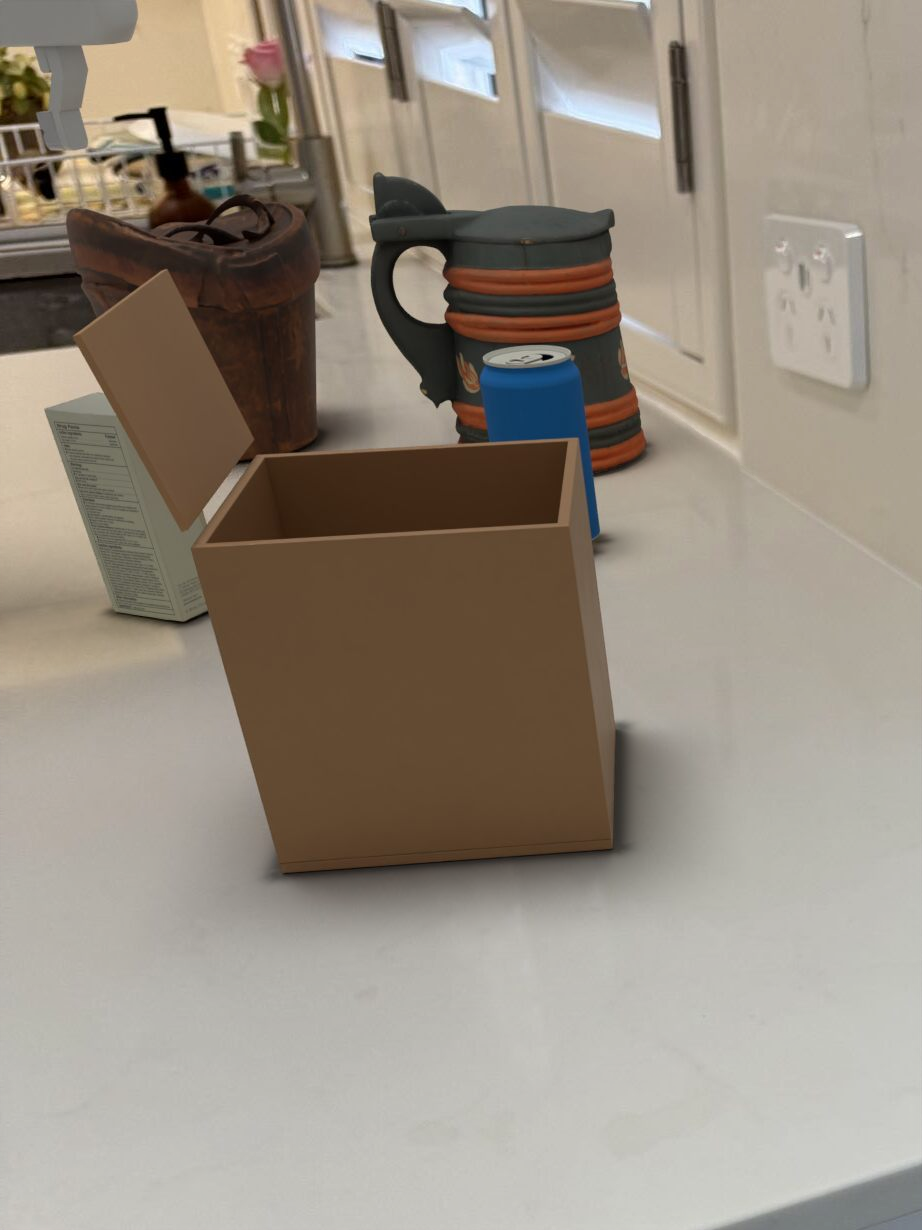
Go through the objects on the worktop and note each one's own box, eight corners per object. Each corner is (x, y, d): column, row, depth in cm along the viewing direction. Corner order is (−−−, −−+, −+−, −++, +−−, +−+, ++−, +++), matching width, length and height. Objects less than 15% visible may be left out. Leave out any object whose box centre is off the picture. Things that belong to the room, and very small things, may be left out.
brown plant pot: (388, 413, 139) (341, 176, 128) (303, 477, 123) (241, 213, 112) (195, 413, 141) (133, 179, 130) (87, 476, 125) (5, 216, 114)
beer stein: (418, 498, 118) (359, 188, 106) (398, 450, 129) (342, 164, 117) (664, 469, 123) (635, 169, 111) (624, 425, 134) (594, 148, 122)
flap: (188, 530, 62) (181, 532, 62) (254, 439, 73) (248, 441, 73) (79, 333, 58) (71, 336, 58) (167, 268, 69) (160, 270, 69)
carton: (281, 873, 72) (189, 547, 63) (328, 747, 83) (255, 454, 74) (612, 849, 73) (569, 525, 64) (615, 727, 84) (578, 437, 75)
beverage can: (620, 540, 109) (598, 349, 102) (556, 567, 105) (528, 370, 97) (552, 526, 112) (525, 340, 104) (487, 551, 108) (454, 359, 100)
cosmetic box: (232, 602, 101) (176, 397, 93) (182, 625, 98) (119, 414, 90) (158, 590, 103) (97, 389, 95) (106, 612, 100) (40, 406, 92)
